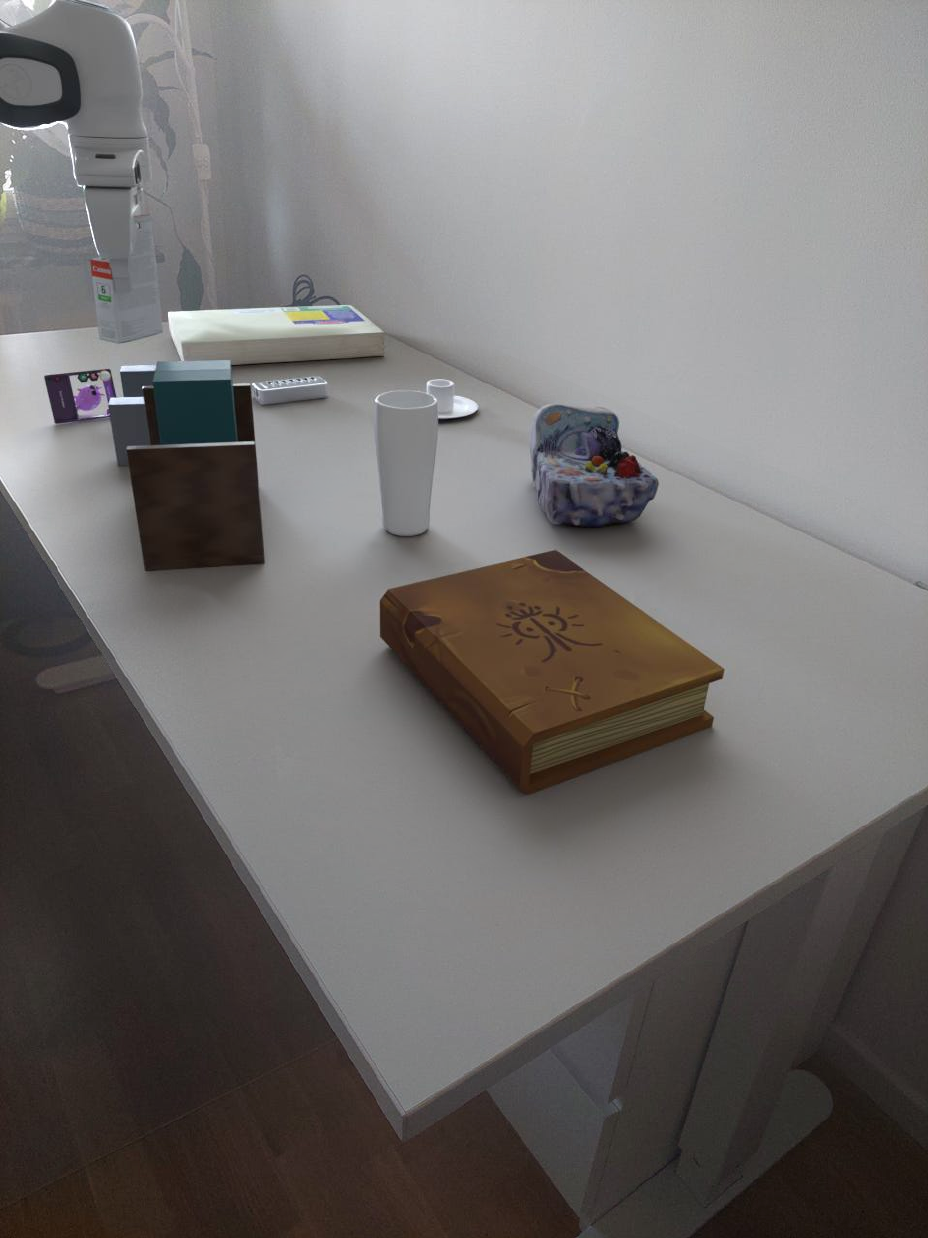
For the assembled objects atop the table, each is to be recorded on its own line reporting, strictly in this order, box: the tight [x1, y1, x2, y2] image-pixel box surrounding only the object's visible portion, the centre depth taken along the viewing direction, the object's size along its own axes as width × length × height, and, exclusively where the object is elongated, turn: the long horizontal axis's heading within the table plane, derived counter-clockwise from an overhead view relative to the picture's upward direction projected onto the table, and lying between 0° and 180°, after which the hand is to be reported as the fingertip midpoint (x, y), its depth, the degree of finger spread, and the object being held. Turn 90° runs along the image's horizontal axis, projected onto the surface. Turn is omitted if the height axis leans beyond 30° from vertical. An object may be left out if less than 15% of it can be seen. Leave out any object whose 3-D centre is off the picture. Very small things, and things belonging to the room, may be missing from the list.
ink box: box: [89, 213, 164, 345], centre depth 117 cm, size 4×8×15 cm, turn 154°
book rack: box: [126, 382, 265, 572], centre depth 102 cm, size 12×21×13 cm, turn 12°
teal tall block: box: [153, 360, 238, 445], centre depth 106 cm, size 8×8×15 cm
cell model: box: [529, 403, 660, 528], centre depth 111 cm, size 13×11×20 cm
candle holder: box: [426, 378, 479, 420], centre depth 143 cm, size 12×12×4 cm
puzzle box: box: [167, 304, 387, 366], centre depth 173 cm, size 36×5×24 cm
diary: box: [379, 549, 726, 795], centre depth 78 cm, size 23×19×6 cm
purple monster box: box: [43, 368, 118, 425], centre depth 135 cm, size 7×5×9 cm
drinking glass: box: [374, 389, 439, 537], centre depth 103 cm, size 7×7×15 cm
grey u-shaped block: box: [107, 364, 157, 467], centre depth 126 cm, size 7×18×8 cm, turn 12°
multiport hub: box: [252, 375, 329, 406], centre depth 147 cm, size 4×11×2 cm, turn 118°
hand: (127, 284), depth 118 cm, fingers closed on ink box, 7 cm apart
